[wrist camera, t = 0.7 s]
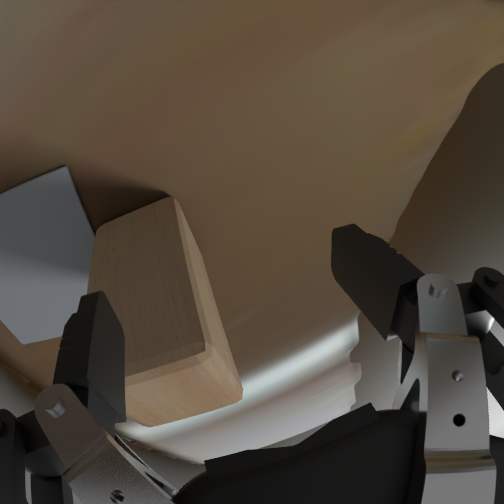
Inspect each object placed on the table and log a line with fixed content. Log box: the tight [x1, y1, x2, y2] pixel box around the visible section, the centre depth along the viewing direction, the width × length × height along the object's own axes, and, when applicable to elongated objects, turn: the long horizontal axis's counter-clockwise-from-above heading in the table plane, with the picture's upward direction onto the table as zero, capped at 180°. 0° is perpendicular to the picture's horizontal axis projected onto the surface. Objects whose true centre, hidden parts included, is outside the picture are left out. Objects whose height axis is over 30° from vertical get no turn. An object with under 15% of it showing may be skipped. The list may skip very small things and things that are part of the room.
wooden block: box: [87, 197, 243, 427], centre depth 27 cm, size 10×10×20 cm
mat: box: [0, 166, 95, 344], centre depth 31 cm, size 24×22×1 cm
